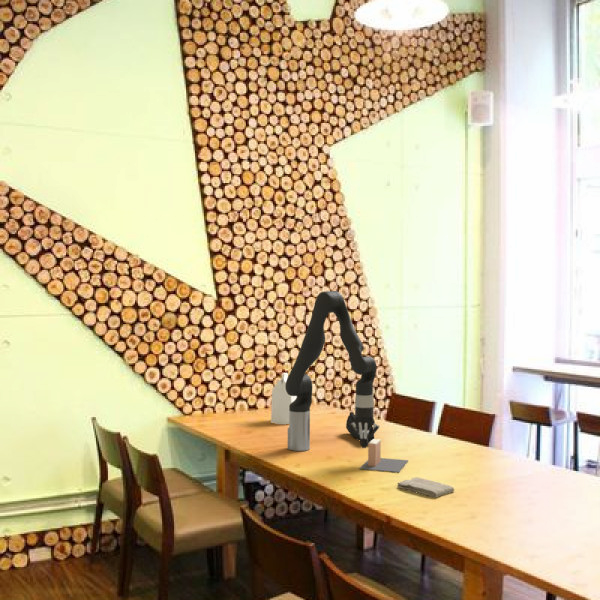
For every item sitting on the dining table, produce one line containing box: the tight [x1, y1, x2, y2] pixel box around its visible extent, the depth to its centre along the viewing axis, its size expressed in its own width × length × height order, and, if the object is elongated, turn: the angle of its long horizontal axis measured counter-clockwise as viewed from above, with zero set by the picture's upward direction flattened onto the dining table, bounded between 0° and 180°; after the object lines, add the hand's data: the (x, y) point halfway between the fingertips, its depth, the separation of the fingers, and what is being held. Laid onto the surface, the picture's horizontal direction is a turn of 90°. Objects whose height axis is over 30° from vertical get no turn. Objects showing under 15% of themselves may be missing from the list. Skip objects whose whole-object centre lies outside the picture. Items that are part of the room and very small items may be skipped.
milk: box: [270, 372, 297, 425], centre depth 391 cm, size 12×12×26 cm
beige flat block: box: [367, 438, 382, 466], centre depth 300 cm, size 3×9×9 cm, turn 161°
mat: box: [358, 457, 409, 474], centre depth 299 cm, size 16×20×1 cm
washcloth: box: [396, 477, 455, 499], centre depth 264 cm, size 12×18×3 cm, turn 44°
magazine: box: [345, 411, 375, 443], centre depth 348 cm, size 17×3×30 cm
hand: (364, 447), depth 301 cm, fingers closed
